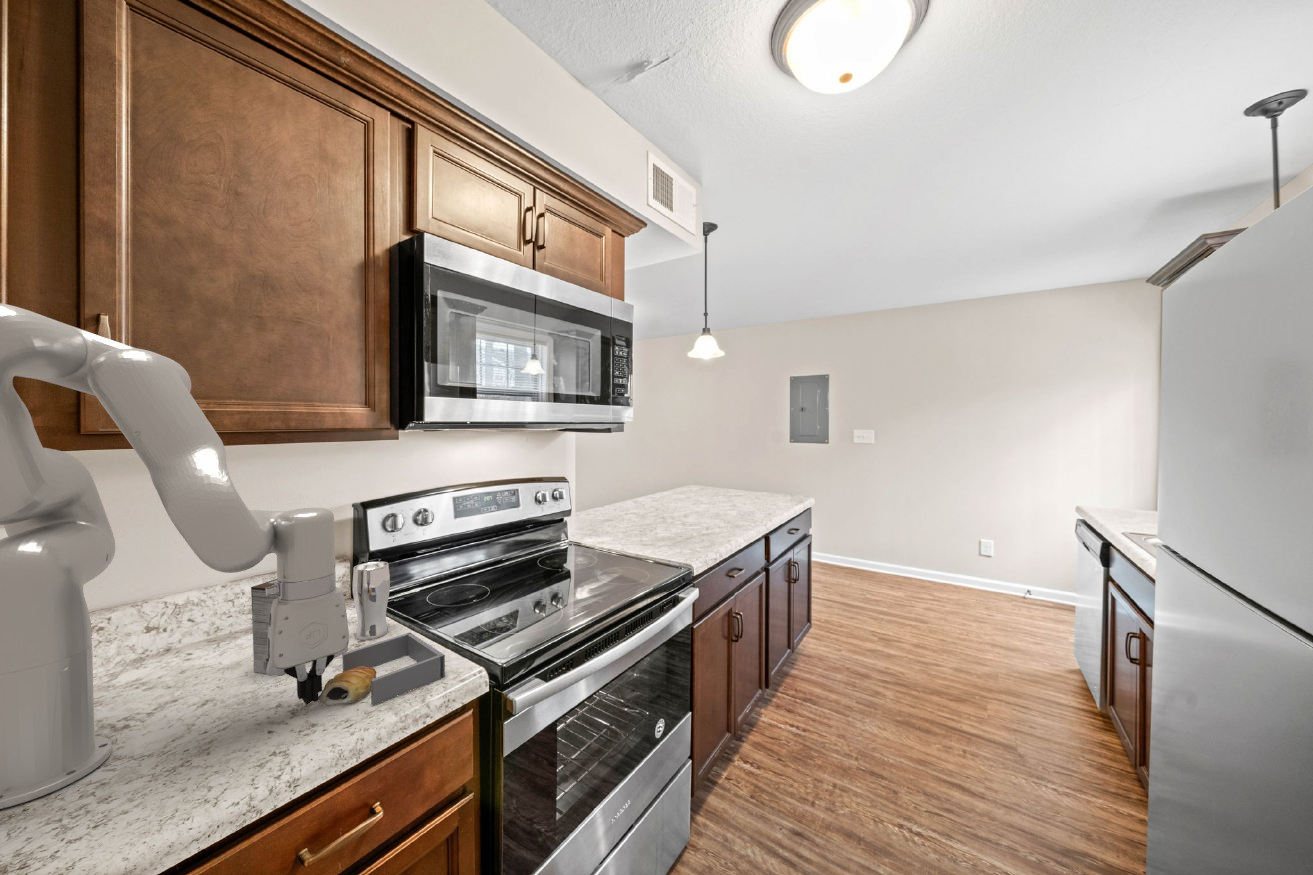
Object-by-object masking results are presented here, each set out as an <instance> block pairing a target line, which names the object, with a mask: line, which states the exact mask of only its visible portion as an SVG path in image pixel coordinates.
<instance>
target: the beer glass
mask: <svg viewBox="0 0 1313 875" xmlns="http://www.w3.org/2000/svg"><path fill="white" fill-rule="evenodd" d="M352 573H353V575H352V596H353V601H354V606H355V610H356V616H357V627H356V633H355V638H356V639H357V640H360V641H369V640H370V641H371V640H374V639H379V638H382V637H384V636H385V635H387V634H388V633H389V626H388V622H387V608H388V602H389V596H390V589H391V585H390V584H391V578H390V577H391V575H390V568H389V562H387V561H379V560H378V561H370V562H369V561H368V562H364V563H360V564H357V565H355V566H354V567H353V572H352Z"/></svg>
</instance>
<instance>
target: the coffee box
mask: <svg viewBox="0 0 1313 875" xmlns="http://www.w3.org/2000/svg"><path fill="white" fill-rule="evenodd" d="M276 580H277V578H276V579H275V578H274V579H272V580H269V581H265V582H263V583H260V584H256V585H252V586H251V587H250V590H251V591H250V592H251V618H252V620H251V621H252V650H253V651H252V654H253V657H252V658H253V672H254V673H255V672H259V673H258V674H263V673H265V674H264V675H268V674H267V673H266V669H267V665H268V662H269V659H268V656H267V638H268V626H269V617H270V612H271V607H272V603H273V600H274V599H276V598H278V597H276V596H272V595H271V596H266V588H267V587H272V585H275V583H276Z"/></svg>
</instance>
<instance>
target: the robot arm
mask: <svg viewBox="0 0 1313 875" xmlns="http://www.w3.org/2000/svg"><path fill="white" fill-rule="evenodd" d="M14 377H21V378H26V379H27V378H28V379H34V380H39V381H42V382H46V383H49V384H54V385H58V386H61V387H65V388H68V389H70V390H75V391H78V392H82V393H85V394H88V395H92V396H95V397H96V398H97V400H98V401H99V403H100V404H101V406H102V407H103V408H104V410H105V411H106V412H107V414H108V415H109V417H110V418H111V419H112V421H113V422H114V424H115V425H116V426H117V427H118V429H119V430H120V432H121V433H122V434H123V435H124V437H125V439H126V440H127V441H128V443H129V444H130V445H131V447H132V448H133V450H134V452H136V454H137V455H138V457H139V458H140V460H141V461H142V463H143V464H144V465H145V467H146V468H147V470H148V472H149V475H150V479H151V481H152V484H153V486H154V488H155V489H156V490H155V491H156V492H157V494H158V497H159V499H160V501H161V504H162V505H163V508H164V510H165V511H166V515H168V517H169V519H170V521H171V523H172V524H173V525H174V527H175V528H176V530H177V531H178V532H179V534H180V536H181V537H182V538H183V539H184V541H185V542H186V544H187V545H188V546H189V547H190V549H191V550H192V551H193V553H194V554H195V555H196V556H197V558H198V559H199V561H200V562H202V563H204V565H206V567H208V568H210V569H212V570H214V571H216V572H220V573H224V574H225V573H227V574H229V573H230V574H234V573H236V574H237V573H241V572H245V571H247V570H249V569H252V568H254V567H255V566H257V565H258V564H260V563H261V562H262V561H263V560H264V558H265V557H266V556H267V555H269V554H275V555H276V570H277V571H276V575H277V576H276V579H277V580H276V583H275V585H272V587H267V588H266V596H271V595H272V596H276V597H278V598H276V599H274V600H273V603H272V607H271V612H270V617H269V626H268V638H267V656H268V659H269V662H268V665H267V669H266V673H267V674H266V675H268V676H269V677H273V676H280V675H281V676H282V675H286V676H290V677H292V678H293V679H296V691H297V692H296V695H297V699H298V700H302V701H303V703H304V704H305V705H309V704H311V703H312V702H318V701H319V693H322V691H323V674H324V673H325V672H326V669H327V667H328V666H329V665H330V664H331V663H332V662H333V660H334V659H335V658H336V659H337V658H338V657H340V656H342V654H344V653H346V652H349V647H348V646H349V643H350V633H349V632H350V631H349V623H348V622H349V621H348V616H347V615H348V614H347V606H346V601H345V597H344V592H343V589H341V588H340V587H337V586H336V585H337V582H336V575H337V574H336V534H335V533H336V532H335V515H334V513H333V511H332V510H330V509H328V508H325V507H306V508H305V507H304V508H303V507H301V508H297V509H291V510H257V509H255V510H254V509H252V510H251V509H249V508H248V506H247V505H246V503H245V502H244V501H243V499H242V497H241V496H240V494H239V492H238V491H237V488H236V487H235V486H234V483H233V481H232V479H231V476H230V473H229V470H228V467H227V466H228V465H227V456H226V455H227V454H226V449H225V446H224V442H223V440H222V439H221V437H220V436H219V434H218V433H217V432H216V430H215V428H214V427H213V425H212V424H211V423H210V421H209V419H208V418H207V417H206V415H205V413H204V411H203V410H202V409H201V408H200V406H199V404H198V403H197V401H196V400H195V399H194V397H193V395H192V394H191V390H192V382H191V381H192V380H191V378H190V375H189V373H188V371H186V369H185V368H184V367H183V365H181V364H180V363H178V362H177V361H175V360H173V359H171V358H170V357H167V356H166V355H165V356H164V355H161V354H159V353H157V352H154V351H151V350H146V349H143V348H137V347H135V346H134V347H133V346H130V345H128V344H124V343H121V342H118V341H116V340H113V339H110V338H107V337H103V336H101V335H98V334H95V333H92V332H89V331H87V330H84V329H81V328H79V327H76V326H72V325H70V324H67V323H64V322H62V321H58V320H56V319H53V318H50V317H48V316H45V315H42V314H39V313H36V312H35V311H31V310H28V309H26V308H22V307H19V306H15V305H11V304H6V303H1V302H0V526H3V527H4V529H5V532H6V534H7V536H6V537H4V538H1V539H0V810H2V809H6V808H10V807H13V806H16V805H17V806H18V805H20V804H23V803H28V802H29V801H32V800H35V799H38V798H40V797H43V796H45V795H49V794H50V793H53V792H56V791H57V790H60V789H62V788H65V787H66V786H68V785H70V784H72V783H75V782H77V781H78V780H80V779H82V778H84V777H85V776H87V775H88V774H90V773H91V772H93V771H94V770H96V769H97V768H98V767H99V766H101V765H102V764H104V762H105V761H106V760H107V759H108V758H109V757H110V755H111V754H112V752H113V742H112V740H111V739H110V738H108V737H104V736H100V735H99V736H97V735H95V732H96V731H95V708H94V707H95V703H94V702H95V701H94V699H95V697H94V672H93V671H94V669H93V668H94V665H93V662H94V661H93V660H94V659H93V643H92V623H91V616H90V612H89V608H88V604H87V600H86V598H85V593H84V585H85V584H87V583H89V582H91V581H92V580H94V579H95V578H96V577H98V576H100V575H101V574H103V572H104V571H106V569H107V568H108V567H109V566H110V565H111V563H112V561H113V560H114V557H115V554H116V542H115V541H116V540H115V537H114V533H113V530H112V527H111V523H110V522H109V518H108V516H107V513H106V510H105V507H104V505H103V502H102V499H101V496H100V494H99V491H98V488H97V486H96V483H95V480H94V478H93V476H92V475H91V472H90V471H89V470H88V468H87V467H86V466H85V465H84V464H83V463H82V462H81V461H80V460H79V459H77V457H75V456H73V455H71V454H69V453H67V452H64V451H61V450H59V449H54V448H53V449H52V448H50V447H48V448H47V447H44V446H43V445H42V443H41V440H40V439H39V436H38V434H37V431H36V429H35V426H34V423H33V418H32V416H31V413H30V412H29V409H28V408H27V406H26V404H25V403H24V401H23V399H21V397H20V396H19V394H18V393H17V391H16V389H15V387H14V383H13V380H14ZM307 663H311V665H310V669H309V670H308V671H307V667H306V665H305V664H307Z"/></svg>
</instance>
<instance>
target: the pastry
mask: <svg viewBox="0 0 1313 875" xmlns="http://www.w3.org/2000/svg"><path fill="white" fill-rule="evenodd" d="M374 678H377V670H376V669H375V668H374V667H371V668H370V667H365V666H360V667H357V668H354V669H350V670H348V671H345V672H343V671H342V672H340V673H337V674H335V675H334V676H333V678H330V679H329V680H328V681H327V682H326V683H325V685H324V687H323V688H322V692H320V694H318V696H319V700H318V701H319V703H321V705H322V706H336V704H337V705H340V704H341V705H346V704H352V703H354V702H357V701H360V700H361V699H363V698H364V697H365V695H367V694H368V693H370V692H371V679H374Z"/></svg>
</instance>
